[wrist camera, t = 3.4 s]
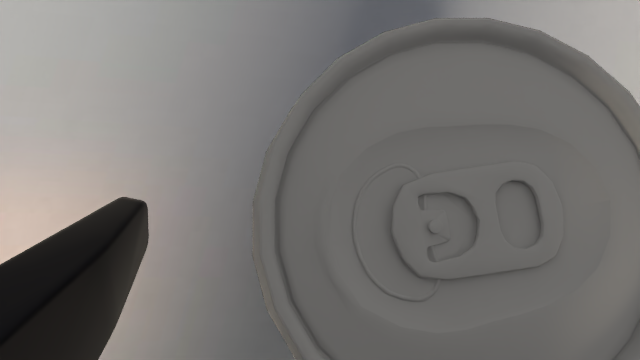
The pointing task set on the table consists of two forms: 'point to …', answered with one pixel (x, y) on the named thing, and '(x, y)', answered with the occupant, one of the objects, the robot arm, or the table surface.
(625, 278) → the beverage can
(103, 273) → the robot arm
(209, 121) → the table surface
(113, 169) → the table surface
